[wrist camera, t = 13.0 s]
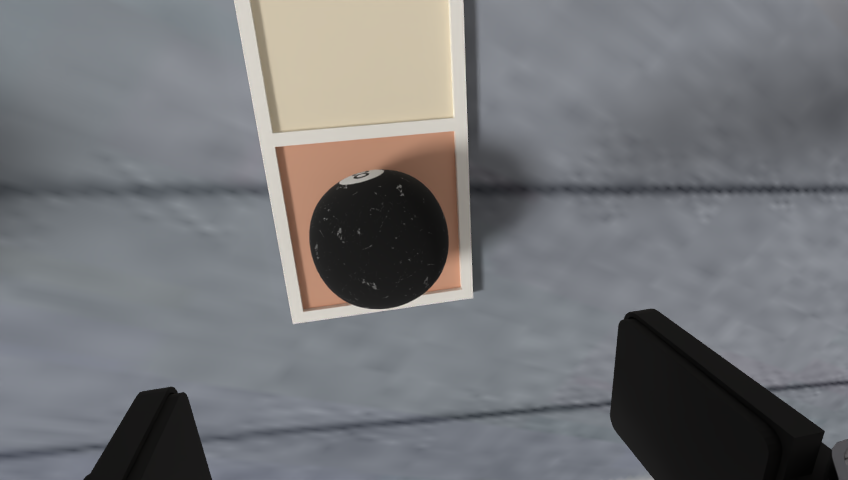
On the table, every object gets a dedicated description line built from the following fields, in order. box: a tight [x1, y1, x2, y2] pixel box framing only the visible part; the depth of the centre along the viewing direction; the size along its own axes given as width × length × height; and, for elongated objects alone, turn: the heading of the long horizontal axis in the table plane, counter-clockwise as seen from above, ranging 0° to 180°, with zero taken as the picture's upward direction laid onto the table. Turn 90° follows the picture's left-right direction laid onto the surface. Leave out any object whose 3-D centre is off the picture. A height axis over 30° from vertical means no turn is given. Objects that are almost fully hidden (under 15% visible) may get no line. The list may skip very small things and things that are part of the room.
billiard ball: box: [309, 169, 449, 309], centre depth 20 cm, size 6×6×6 cm
